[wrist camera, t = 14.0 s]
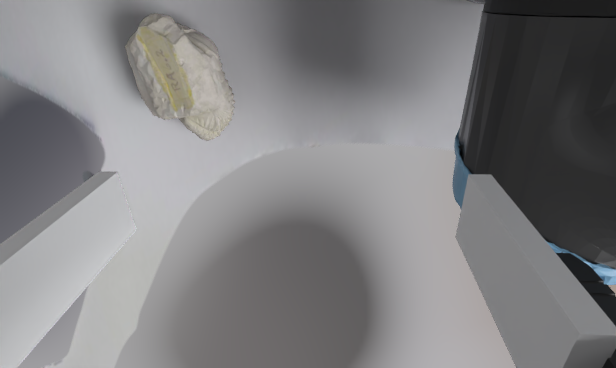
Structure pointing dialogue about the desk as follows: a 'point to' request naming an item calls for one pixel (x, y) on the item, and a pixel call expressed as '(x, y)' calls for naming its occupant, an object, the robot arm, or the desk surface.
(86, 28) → the desk surface
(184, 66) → the fossil replica
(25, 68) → the desk surface
